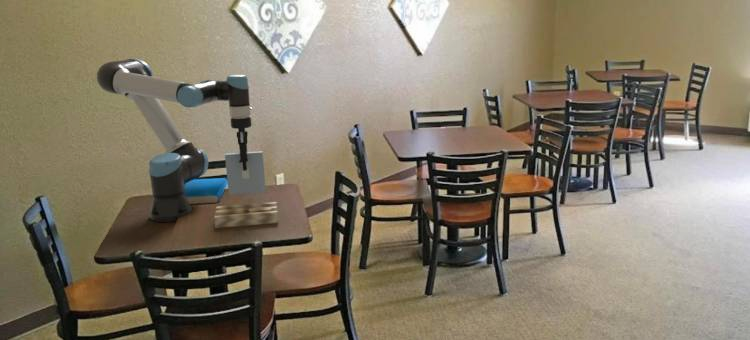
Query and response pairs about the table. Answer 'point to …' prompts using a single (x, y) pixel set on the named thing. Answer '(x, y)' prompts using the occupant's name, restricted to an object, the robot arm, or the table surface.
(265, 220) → the rack
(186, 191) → the book
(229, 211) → the offcut left
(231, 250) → the table surface
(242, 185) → the pale blue panel
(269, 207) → the offcut right
